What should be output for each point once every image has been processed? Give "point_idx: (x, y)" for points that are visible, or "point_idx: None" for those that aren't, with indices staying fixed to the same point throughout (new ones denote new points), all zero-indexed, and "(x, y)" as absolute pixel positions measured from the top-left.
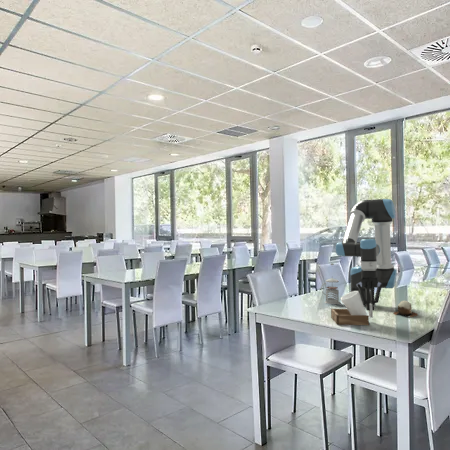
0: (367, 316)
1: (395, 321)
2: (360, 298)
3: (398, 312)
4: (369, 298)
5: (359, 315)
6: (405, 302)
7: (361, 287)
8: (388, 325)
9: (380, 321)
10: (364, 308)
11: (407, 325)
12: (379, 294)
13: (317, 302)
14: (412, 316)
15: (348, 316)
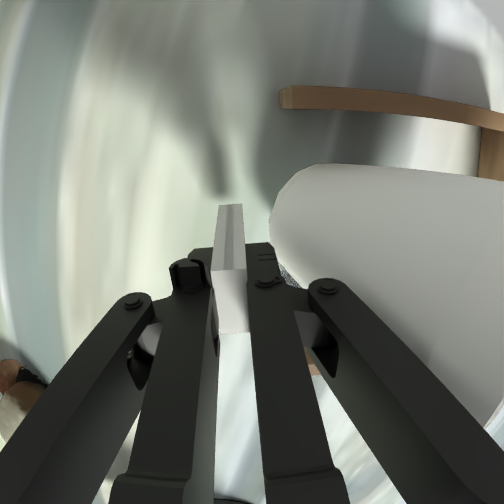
0: (303, 86)
1: (58, 256)
2: (430, 286)
3: None
4: (252, 333)
5: (386, 101)
6: (8, 433)
7: (483, 496)
8: (114, 114)
9: (153, 242)
10: (313, 243)
11: (4, 153)
12: (51, 388)
13: (368, 497)
14: (6, 364)
15: (470, 105)
